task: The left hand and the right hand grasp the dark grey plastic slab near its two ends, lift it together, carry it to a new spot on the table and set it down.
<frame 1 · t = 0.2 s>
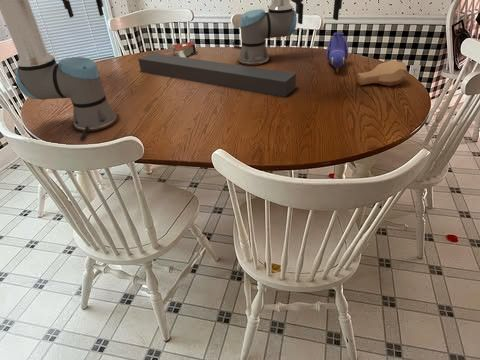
left hand: (86, 16, 157), 28 cm above the table, tool pointing down, fingers open, 13 cm apart
right hand: (317, 21, 128), 28 cm above the table, tool pointing down, fingers open, 13 cm apart
tape dispenser: (182, 56, 194), on the table
squash: (380, 83, 149), on the table
slab: (211, 79, 164), on the table
toy: (336, 67, 167), on the table
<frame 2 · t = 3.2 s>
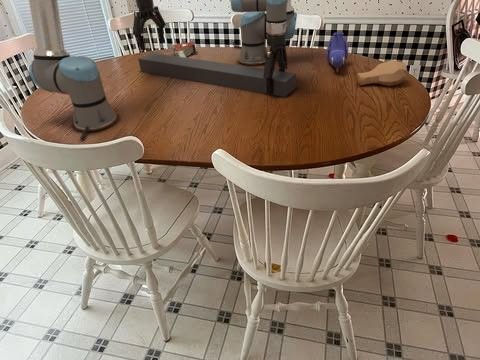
left hand: (153, 46, 171), 12 cm above the table, tool pointing down, fingers open, 13 cm apart
right hand: (275, 88, 149), 1 cm above the table, tool pointing down, fingers closed on slab, 10 cm apart
slab: (211, 79, 164), on the table, touching right hand
everything else where it was.
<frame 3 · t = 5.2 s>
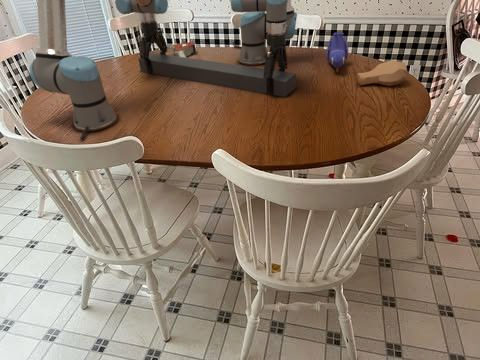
left hand: (157, 68, 178), 1 cm above the table, tool pointing down, fingers closed on slab, 10 cm apart
right hand: (275, 88, 149), 1 cm above the table, tool pointing down, fingers closed on slab, 10 cm apart
slab: (211, 79, 164), on the table, touching left hand, right hand
everything else where it was.
when the left hand's fingers open (2 cm above the table, at t = 11.9 s): slab drops 1 cm, on the table.
when the right hand's fingers open (2 cm above the table, at t = 11.9 s): slab drops 1 cm, on the table.
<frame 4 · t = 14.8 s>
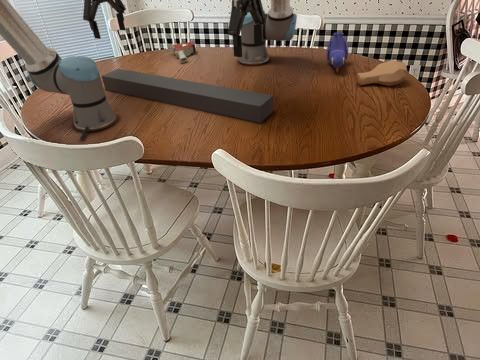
left hand: (110, 34, 147), 23 cm above the table, tool pointing down, fingers open, 13 cm apart
right hand: (248, 50, 118), 23 cm above the table, tool pointing down, fingers open, 13 cm apart
slab: (181, 99, 147), on the table
everything else where it was.
at the end: slab inside the target area (0.1 cm from its centre), on the table; slab tilted 0°; slab never tilted more than 2° during the clip; both hands held the slab at the same time; the left hand is holding nothing; the right hand is holding nothing; slab at rest at the end (0.0 cm/s) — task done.
